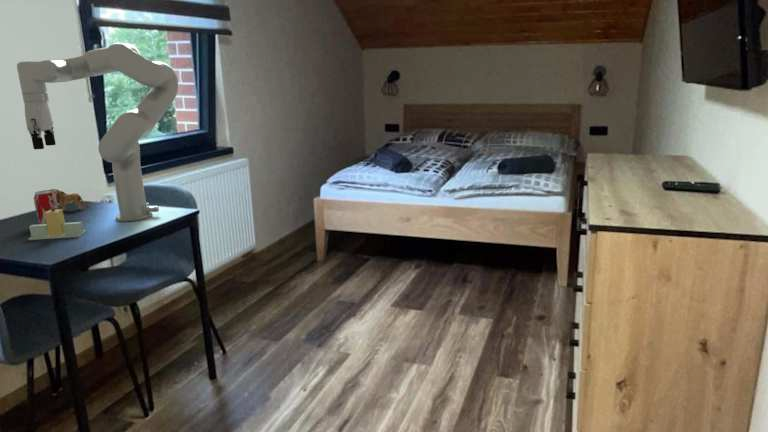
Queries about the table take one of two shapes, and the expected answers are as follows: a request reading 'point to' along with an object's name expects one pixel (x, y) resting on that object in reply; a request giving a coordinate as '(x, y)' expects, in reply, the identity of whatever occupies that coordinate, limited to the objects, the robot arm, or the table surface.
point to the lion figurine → (68, 199)
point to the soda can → (44, 203)
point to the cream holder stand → (70, 231)
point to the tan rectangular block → (55, 221)
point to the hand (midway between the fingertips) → (45, 147)
